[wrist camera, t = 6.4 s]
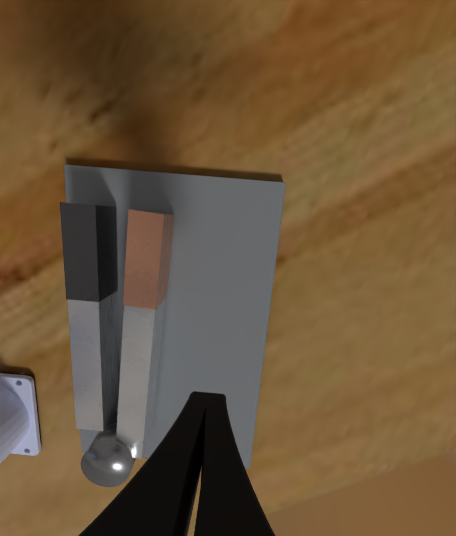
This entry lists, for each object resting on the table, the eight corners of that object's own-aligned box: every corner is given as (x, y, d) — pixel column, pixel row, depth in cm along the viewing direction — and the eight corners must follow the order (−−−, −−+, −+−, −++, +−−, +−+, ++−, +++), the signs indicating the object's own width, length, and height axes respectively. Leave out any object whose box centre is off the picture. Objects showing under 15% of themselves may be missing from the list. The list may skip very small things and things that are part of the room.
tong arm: (151, 451, 21) (137, 491, 18) (102, 444, 21) (80, 482, 18) (174, 214, 16) (161, 214, 13) (113, 205, 16) (86, 203, 13)
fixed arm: (119, 405, 20) (103, 431, 17) (94, 402, 20) (75, 429, 17) (116, 206, 16) (95, 205, 14) (86, 204, 16) (59, 202, 14)
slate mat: (249, 461, 22) (249, 468, 21) (85, 445, 22) (81, 451, 21) (284, 183, 16) (285, 182, 16) (70, 166, 17) (64, 164, 16)
